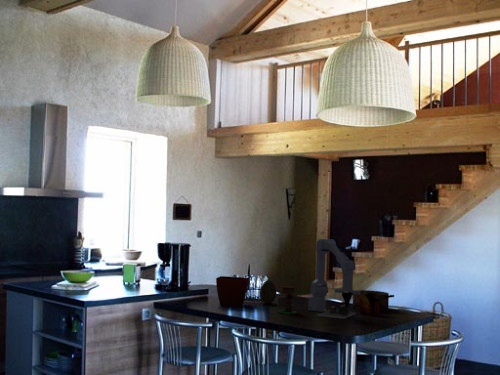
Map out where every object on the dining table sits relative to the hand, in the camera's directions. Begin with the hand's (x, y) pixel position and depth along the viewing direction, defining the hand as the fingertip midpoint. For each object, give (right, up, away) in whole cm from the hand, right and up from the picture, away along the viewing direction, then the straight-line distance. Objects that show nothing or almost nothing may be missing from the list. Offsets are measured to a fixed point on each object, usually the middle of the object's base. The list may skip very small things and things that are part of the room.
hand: (346, 306), depth 361 cm
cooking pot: (+21, -10, +41) cm, 48 cm away
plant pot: (-66, -6, +33) cm, 74 cm away
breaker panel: (-4, -7, +9) cm, 12 cm away
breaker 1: (-2, -6, +8) cm, 10 cm away
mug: (+17, -9, +19) cm, 27 cm away
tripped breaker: (-7, -5, +3) cm, 10 cm away
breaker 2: (+1, -6, +15) cm, 16 cm away
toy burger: (-33, -6, +12) cm, 35 cm away
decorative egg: (-43, -7, +48) cm, 65 cm away
